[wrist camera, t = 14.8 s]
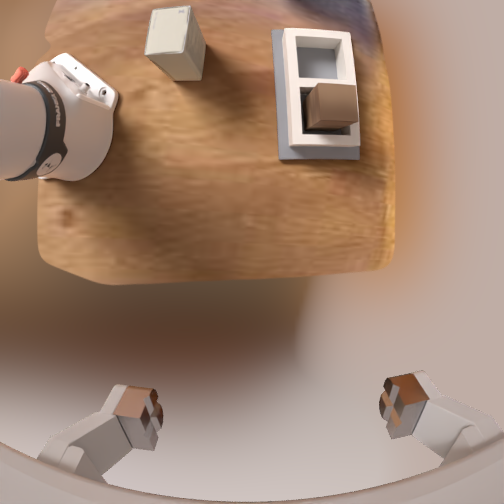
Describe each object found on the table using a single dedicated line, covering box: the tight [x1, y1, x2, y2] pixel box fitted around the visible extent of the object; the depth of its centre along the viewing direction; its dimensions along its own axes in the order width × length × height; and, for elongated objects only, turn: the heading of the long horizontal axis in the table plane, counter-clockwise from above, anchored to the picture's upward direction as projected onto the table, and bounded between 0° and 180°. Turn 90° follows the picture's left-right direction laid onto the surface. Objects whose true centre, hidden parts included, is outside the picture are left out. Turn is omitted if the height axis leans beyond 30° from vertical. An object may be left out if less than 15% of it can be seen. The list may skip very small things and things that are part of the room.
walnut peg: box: [303, 83, 359, 131], centre depth 31 cm, size 4×4×10 cm
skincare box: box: [144, 6, 206, 81], centre depth 29 cm, size 6×4×12 cm
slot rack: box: [271, 28, 360, 160], centre depth 34 cm, size 19×11×5 cm, turn 3°
